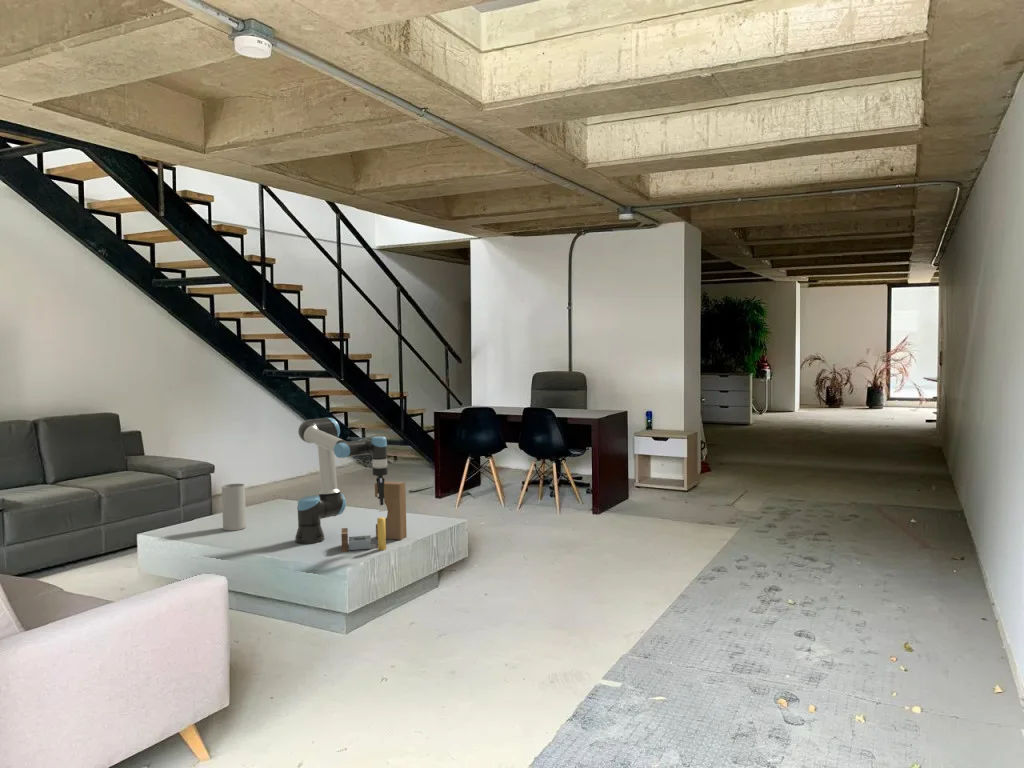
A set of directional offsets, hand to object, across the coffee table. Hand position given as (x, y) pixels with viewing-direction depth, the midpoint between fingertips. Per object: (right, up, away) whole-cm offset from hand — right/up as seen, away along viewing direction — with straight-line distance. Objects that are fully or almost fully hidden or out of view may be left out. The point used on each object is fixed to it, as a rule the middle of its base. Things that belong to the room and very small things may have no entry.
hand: (381, 508), depth 389 cm
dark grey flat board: (-8, -21, +6) cm, 23 cm away
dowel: (0, -21, +1) cm, 21 cm away
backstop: (-19, -21, +4) cm, 29 cm away
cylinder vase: (-94, -20, +52) cm, 109 cm away
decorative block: (+1, -20, +24) cm, 32 cm away
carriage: (-12, -21, +5) cm, 25 cm away
